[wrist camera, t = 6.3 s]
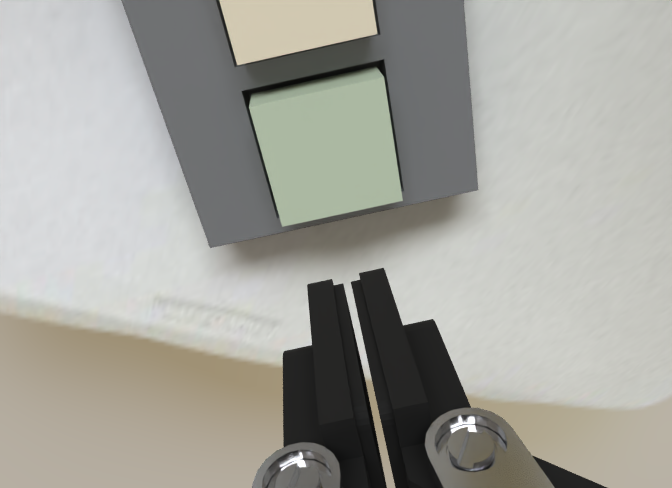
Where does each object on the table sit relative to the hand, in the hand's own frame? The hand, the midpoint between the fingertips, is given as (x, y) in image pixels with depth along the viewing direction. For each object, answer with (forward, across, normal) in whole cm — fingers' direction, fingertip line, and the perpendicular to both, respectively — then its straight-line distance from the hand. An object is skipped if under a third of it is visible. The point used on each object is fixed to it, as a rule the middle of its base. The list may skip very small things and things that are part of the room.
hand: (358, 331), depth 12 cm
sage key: (+13, 0, 0) cm, 13 cm away
